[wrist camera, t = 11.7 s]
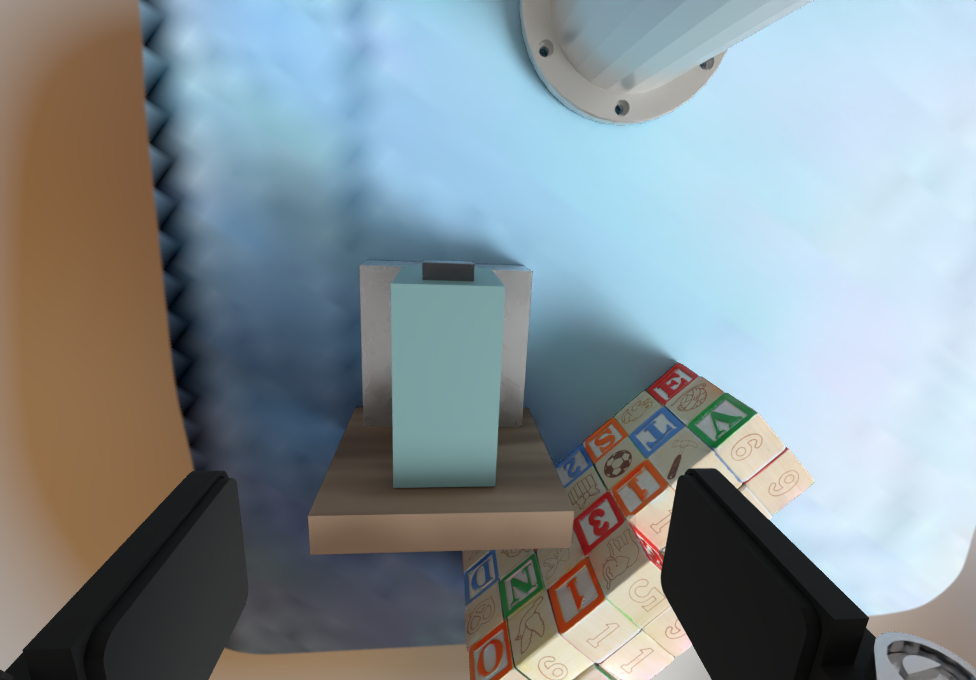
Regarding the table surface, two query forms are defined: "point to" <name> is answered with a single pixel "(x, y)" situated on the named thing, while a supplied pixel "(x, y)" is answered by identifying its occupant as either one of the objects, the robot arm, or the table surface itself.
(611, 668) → the stack of blocks
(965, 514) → the table surface
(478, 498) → the wooden bookend
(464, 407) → the teal cabinet
